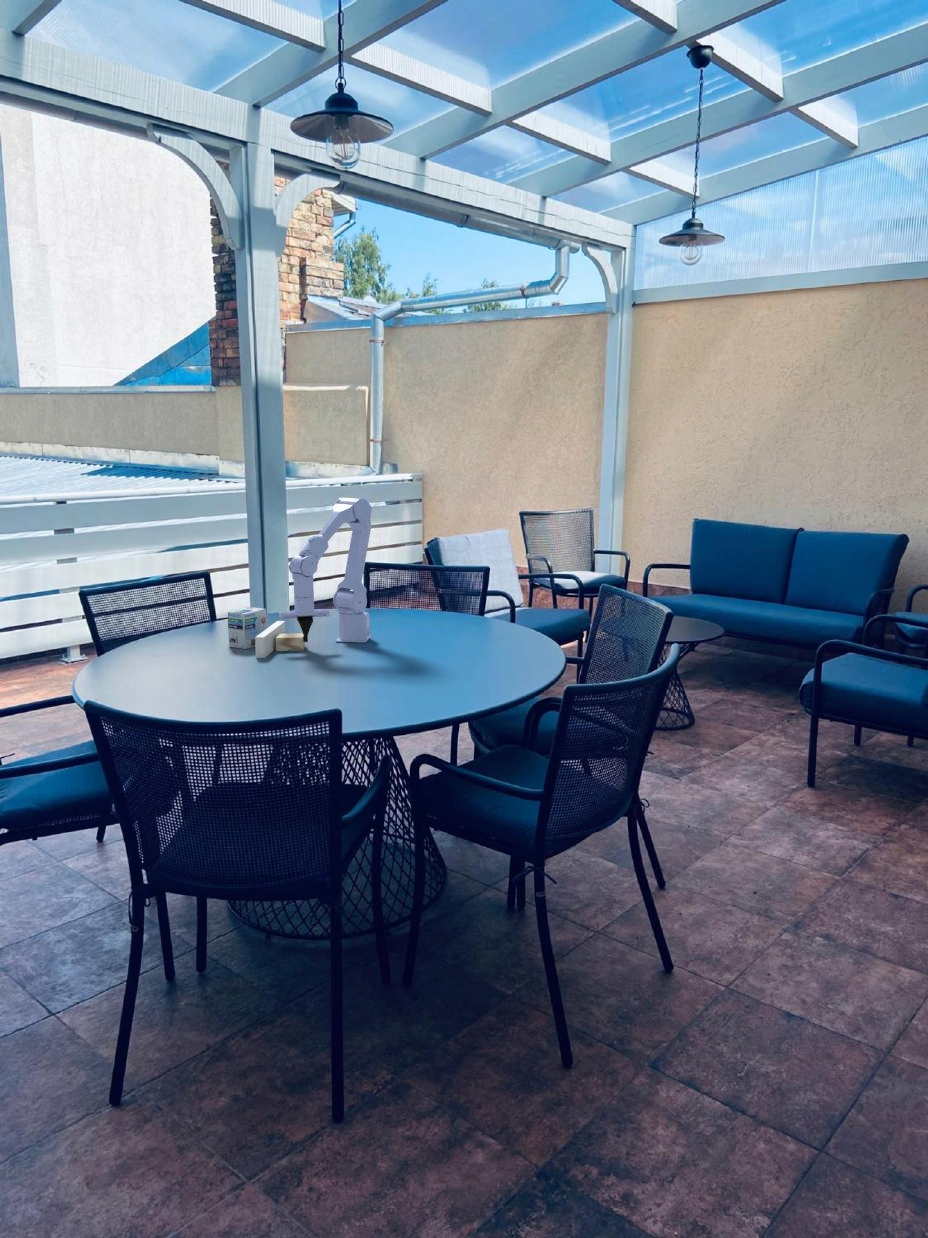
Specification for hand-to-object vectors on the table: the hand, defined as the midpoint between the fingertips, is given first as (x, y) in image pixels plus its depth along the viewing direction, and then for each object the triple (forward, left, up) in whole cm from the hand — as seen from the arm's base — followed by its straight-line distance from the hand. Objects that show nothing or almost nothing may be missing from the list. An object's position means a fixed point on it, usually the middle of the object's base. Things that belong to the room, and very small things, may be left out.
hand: (305, 641), depth 266 cm
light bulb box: (+19, -4, -3) cm, 19 cm away
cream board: (+10, 0, -2) cm, 11 cm away
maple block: (+5, -1, -2) cm, 5 cm away
